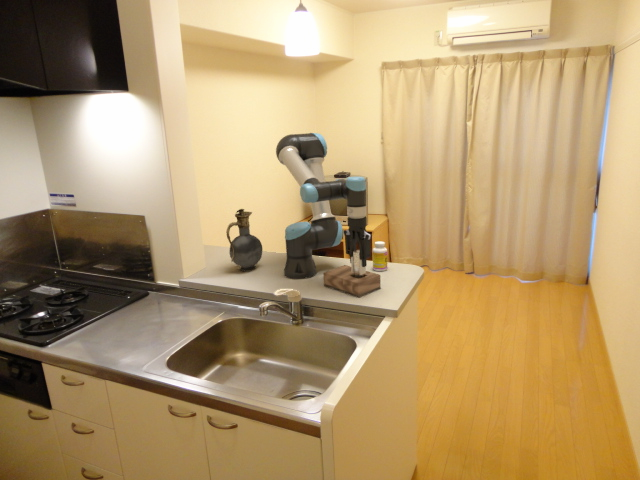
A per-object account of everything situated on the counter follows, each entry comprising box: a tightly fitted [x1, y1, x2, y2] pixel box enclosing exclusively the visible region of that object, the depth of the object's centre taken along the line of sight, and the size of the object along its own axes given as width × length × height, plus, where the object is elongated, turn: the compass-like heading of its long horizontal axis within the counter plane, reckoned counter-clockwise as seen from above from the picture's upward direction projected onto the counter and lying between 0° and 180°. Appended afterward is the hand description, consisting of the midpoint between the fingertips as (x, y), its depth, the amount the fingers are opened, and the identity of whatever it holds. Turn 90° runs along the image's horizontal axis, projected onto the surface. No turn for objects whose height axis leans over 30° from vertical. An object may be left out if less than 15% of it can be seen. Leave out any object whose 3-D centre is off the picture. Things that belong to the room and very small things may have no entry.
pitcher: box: [226, 208, 263, 272], centre depth 214 cm, size 11×19×30 cm, turn 146°
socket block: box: [323, 264, 382, 298], centre depth 188 cm, size 20×13×6 cm, turn 42°
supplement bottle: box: [372, 240, 388, 272], centre depth 208 cm, size 7×7×13 cm
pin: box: [353, 249, 364, 279], centre depth 184 cm, size 4×4×14 cm
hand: (358, 272), depth 184 cm, fingers closed on pin, 4 cm apart
